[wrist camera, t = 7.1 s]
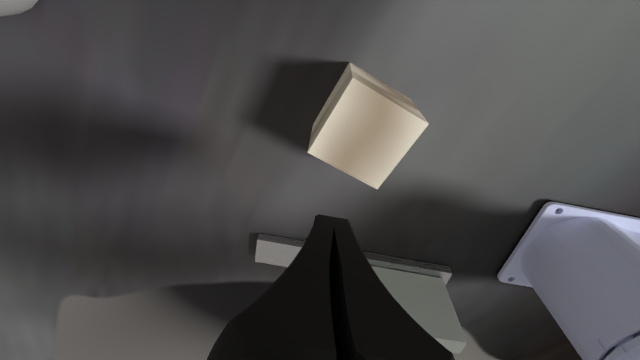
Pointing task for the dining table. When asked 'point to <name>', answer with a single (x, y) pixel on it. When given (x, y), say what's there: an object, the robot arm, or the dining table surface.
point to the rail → (286, 250)
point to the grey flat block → (426, 305)
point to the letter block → (365, 127)
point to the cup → (15, 6)
